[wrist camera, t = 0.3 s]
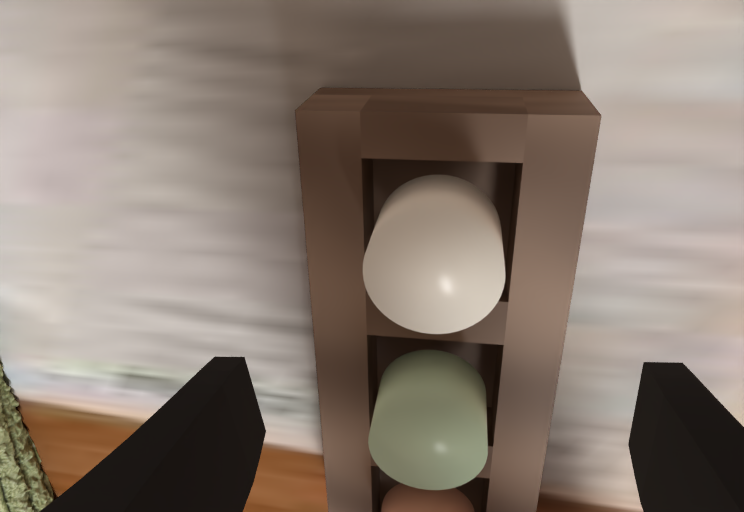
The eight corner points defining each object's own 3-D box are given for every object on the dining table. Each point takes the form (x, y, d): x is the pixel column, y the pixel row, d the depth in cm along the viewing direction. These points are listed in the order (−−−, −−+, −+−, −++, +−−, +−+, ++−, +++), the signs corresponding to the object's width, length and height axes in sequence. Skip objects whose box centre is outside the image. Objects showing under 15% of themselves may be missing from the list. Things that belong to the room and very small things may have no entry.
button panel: (519, 518, 26) (524, 582, 23) (345, 498, 27) (331, 556, 25) (582, 90, 17) (601, 115, 15) (320, 87, 18) (295, 110, 16)
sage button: (482, 437, 20) (483, 496, 18) (380, 426, 21) (369, 483, 18) (490, 354, 18) (492, 408, 16) (378, 345, 19) (366, 396, 17)
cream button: (496, 290, 17) (499, 339, 15) (378, 283, 18) (364, 329, 16) (506, 176, 16) (511, 213, 13) (375, 172, 16) (360, 206, 14)
